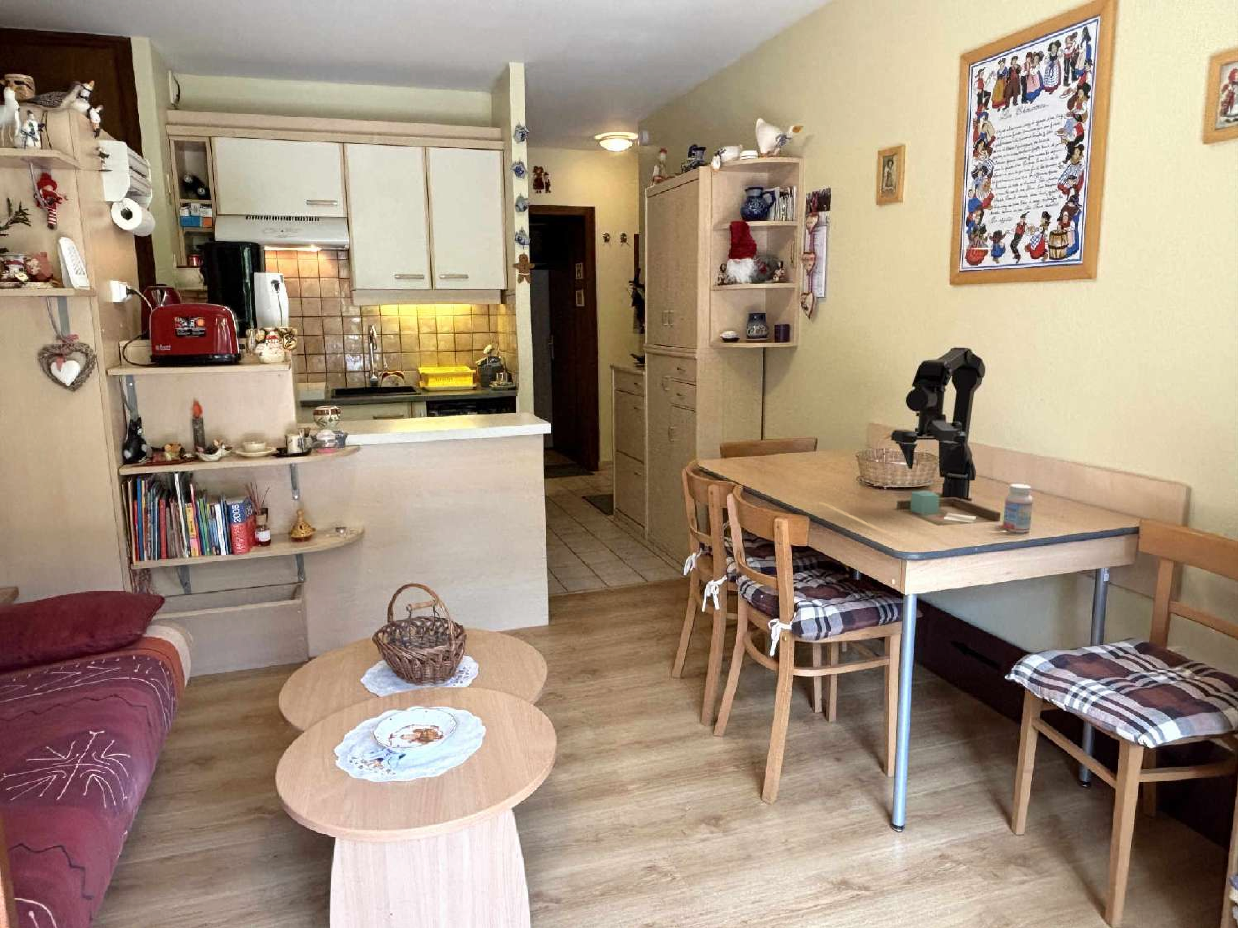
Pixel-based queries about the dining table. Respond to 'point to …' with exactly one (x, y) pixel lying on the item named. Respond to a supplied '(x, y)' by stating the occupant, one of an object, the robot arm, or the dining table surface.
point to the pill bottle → (1018, 509)
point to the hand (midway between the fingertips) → (925, 468)
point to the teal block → (924, 502)
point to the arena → (954, 512)
